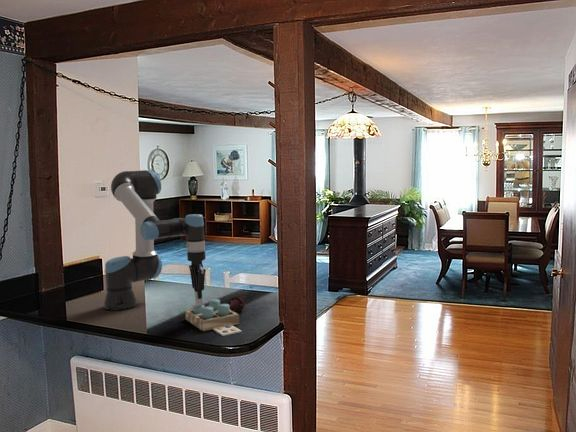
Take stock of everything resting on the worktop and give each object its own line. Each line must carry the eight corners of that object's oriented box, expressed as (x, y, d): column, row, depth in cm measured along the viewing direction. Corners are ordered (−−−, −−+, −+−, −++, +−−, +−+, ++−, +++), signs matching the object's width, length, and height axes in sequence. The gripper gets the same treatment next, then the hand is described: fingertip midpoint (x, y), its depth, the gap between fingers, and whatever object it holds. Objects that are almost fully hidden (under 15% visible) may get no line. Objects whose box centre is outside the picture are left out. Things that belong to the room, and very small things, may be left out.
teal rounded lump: (192, 316, 221) (191, 305, 220) (202, 314, 223) (202, 303, 223) (196, 319, 217) (195, 308, 216) (206, 317, 219) (206, 306, 219)
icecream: (238, 302, 223) (252, 296, 237) (223, 297, 226) (238, 292, 240) (234, 317, 224) (248, 311, 238) (219, 312, 226) (235, 306, 240)
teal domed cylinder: (200, 319, 212) (199, 308, 212) (211, 317, 215) (210, 306, 215) (204, 321, 208) (204, 310, 208) (215, 319, 211) (215, 308, 210)
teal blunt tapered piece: (216, 316, 216) (216, 305, 216) (226, 313, 219) (226, 303, 218) (221, 318, 212) (220, 307, 212) (231, 316, 215) (231, 305, 214)
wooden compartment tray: (185, 319, 222) (185, 310, 222) (219, 312, 231) (219, 304, 230) (203, 331, 205) (202, 321, 205) (239, 323, 214) (238, 314, 213)
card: (212, 329, 207) (212, 327, 207) (230, 325, 212) (230, 323, 211) (222, 336, 199) (222, 334, 199) (241, 332, 203) (241, 330, 203)
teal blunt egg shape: (207, 310, 224) (207, 300, 224) (217, 308, 227) (217, 298, 227) (211, 313, 220) (211, 302, 220) (222, 311, 223) (221, 300, 222)
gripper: (182, 250, 221) (185, 303, 223) (193, 253, 210) (196, 310, 212) (198, 248, 225) (201, 301, 227) (210, 251, 214) (213, 307, 216)
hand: (199, 305), depth 219 cm, fingers closed
